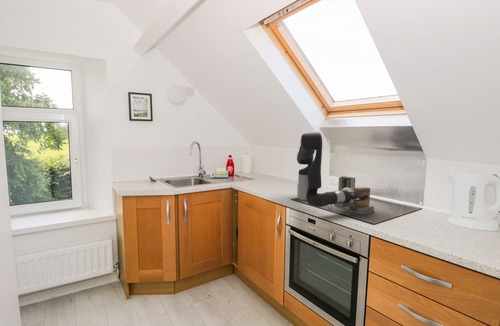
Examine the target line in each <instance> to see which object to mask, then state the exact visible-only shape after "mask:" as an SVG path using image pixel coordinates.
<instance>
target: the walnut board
mask: <svg viewBox="0 0 500 326" xmlns="http://www.w3.org/2000/svg"><path fill="white" fill-rule="evenodd" d="M354 194H359V195H368V199H365V201H356V200H353V210H354V211H357V208H361V207H369V206H370V200H371V187H367V186H365V187H364V186H363V187H355V188H354ZM356 196H357V195H356Z"/></svg>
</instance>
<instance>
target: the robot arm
mask: <svg viewBox="0 0 500 326" xmlns="http://www.w3.org/2000/svg"><path fill="white" fill-rule="evenodd" d="M314 154H315V155H314ZM322 159H323V136H322V134H321V133H320V132H318V131H317V132H305V133H303V134H301V138H300V146H299V149H298V152H297V154H296V161H297V164H299V165H307V166H306V167H304V168H300V169H299V170H298V177H297V178H298V179H297V180H298V181H297V182H298V183H297V192H296V193H297V197H296V198H297V200H300V201H306V202H307V204H308V205H309V206H314V207H317V208H320V207H321V208H322V207H326V206H328V205H329V206H331V205H334V204H344V203H349V202H350V200H356V201H365V199H368V195H359V194H354V192H348V191H347V190H339V191H338V190H333V191H326V192H323V193H318V189H321V188H322ZM356 195H357V196H356Z"/></svg>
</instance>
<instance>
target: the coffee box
mask: <svg viewBox="0 0 500 326" xmlns="http://www.w3.org/2000/svg"><path fill="white" fill-rule="evenodd" d="M346 187H348V188H351V189H352V190H353V192H354V188H356V177H353V176H352V177H351V176H340V177H338V187H337V188H338V190H337V191H339V190H342V189H343V188H346ZM352 202H353V201H352Z"/></svg>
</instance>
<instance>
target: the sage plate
mask: <svg viewBox="0 0 500 326" xmlns="http://www.w3.org/2000/svg"><path fill="white" fill-rule="evenodd" d="M342 190H347V191H348V192H353V190H352V189H351V188H348V187H346V188H343V189H342ZM352 201H353V200H350V202H352Z"/></svg>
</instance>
